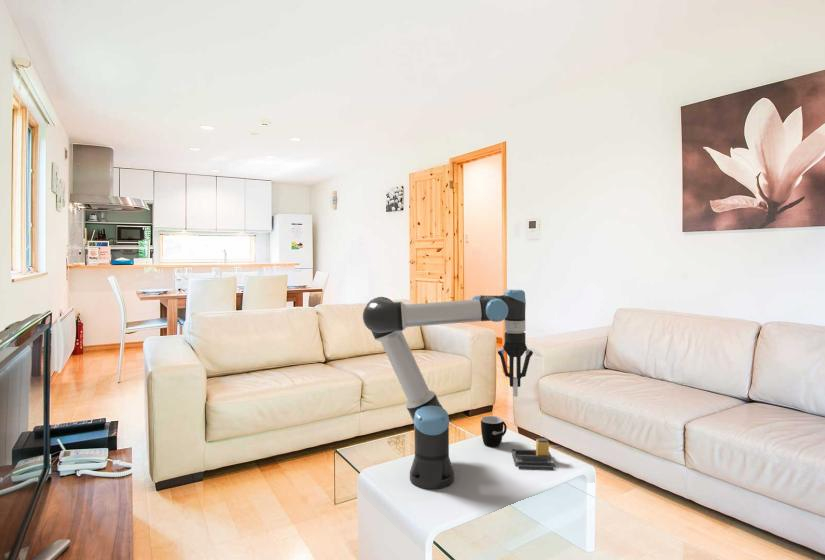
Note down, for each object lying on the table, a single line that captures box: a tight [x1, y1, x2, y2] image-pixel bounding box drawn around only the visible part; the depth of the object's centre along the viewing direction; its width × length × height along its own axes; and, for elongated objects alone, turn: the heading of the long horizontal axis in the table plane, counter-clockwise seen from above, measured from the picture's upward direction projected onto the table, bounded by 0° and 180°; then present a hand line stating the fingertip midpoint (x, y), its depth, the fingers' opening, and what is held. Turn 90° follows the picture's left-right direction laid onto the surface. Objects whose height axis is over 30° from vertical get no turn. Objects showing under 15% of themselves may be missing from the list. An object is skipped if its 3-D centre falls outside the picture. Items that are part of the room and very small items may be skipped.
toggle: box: [535, 437, 550, 456], centre depth 174 cm, size 4×3×7 cm
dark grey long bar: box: [518, 465, 555, 471], centre depth 168 cm, size 12×1×1 cm, turn 85°
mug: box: [480, 415, 507, 448], centre depth 191 cm, size 12×9×10 cm
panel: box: [511, 448, 556, 468], centre depth 174 cm, size 14×10×3 cm
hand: (514, 395), depth 174 cm, fingers closed
